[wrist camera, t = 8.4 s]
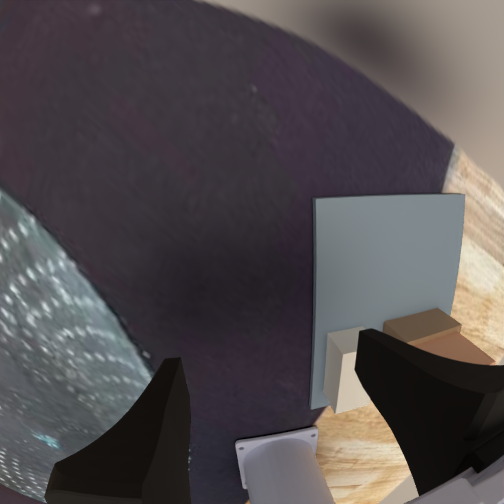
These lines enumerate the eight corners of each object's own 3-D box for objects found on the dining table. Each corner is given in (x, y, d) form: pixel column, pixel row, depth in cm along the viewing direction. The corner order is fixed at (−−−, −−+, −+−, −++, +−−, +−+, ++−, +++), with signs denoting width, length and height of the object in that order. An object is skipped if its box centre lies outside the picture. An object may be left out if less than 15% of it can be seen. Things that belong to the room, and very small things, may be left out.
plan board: (432, 368, 27) (454, 390, 23) (308, 405, 26) (323, 436, 22) (460, 193, 22) (494, 201, 18) (312, 197, 20) (338, 206, 16)
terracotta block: (442, 378, 22) (474, 410, 18) (398, 395, 22) (429, 434, 17) (456, 331, 21) (495, 361, 16) (411, 346, 20) (450, 383, 16)
